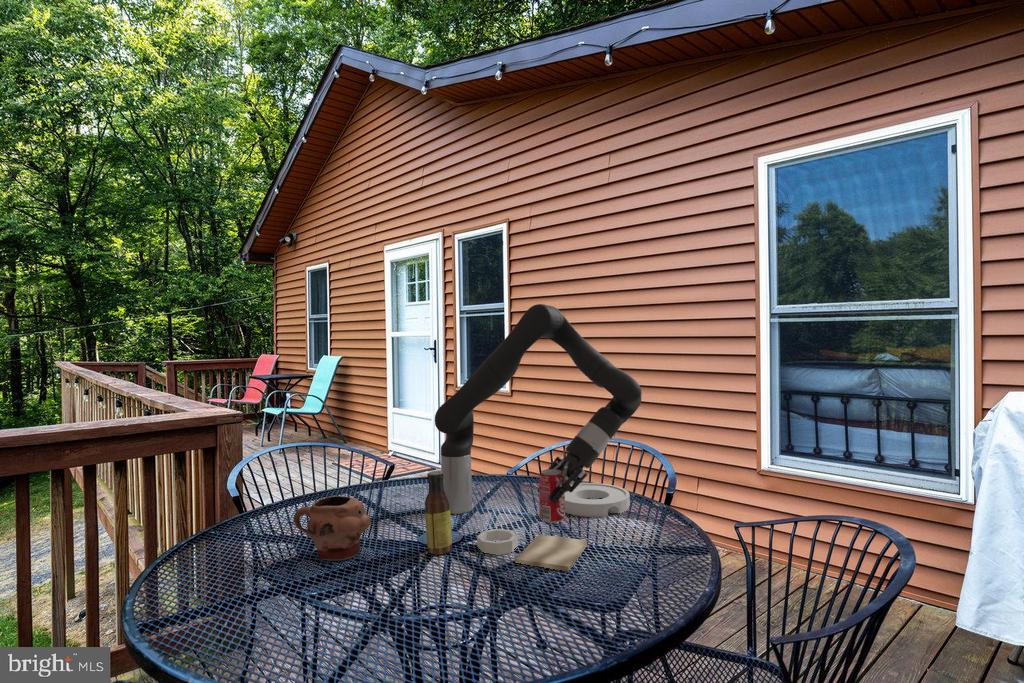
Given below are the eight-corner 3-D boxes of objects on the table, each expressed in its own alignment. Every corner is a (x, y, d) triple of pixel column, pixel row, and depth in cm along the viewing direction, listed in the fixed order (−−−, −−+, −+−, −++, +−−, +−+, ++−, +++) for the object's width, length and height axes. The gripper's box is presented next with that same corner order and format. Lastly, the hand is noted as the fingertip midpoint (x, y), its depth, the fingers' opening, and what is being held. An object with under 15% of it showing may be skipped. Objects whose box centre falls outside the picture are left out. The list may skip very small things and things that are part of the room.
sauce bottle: (456, 547, 147) (454, 470, 146) (445, 557, 141) (443, 476, 140) (433, 545, 149) (431, 468, 148) (421, 554, 143) (419, 474, 142)
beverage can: (565, 516, 144) (564, 468, 144) (565, 524, 138) (564, 474, 138) (540, 515, 145) (539, 468, 144) (539, 524, 139) (537, 474, 138)
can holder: (472, 552, 144) (472, 540, 144) (488, 538, 152) (488, 527, 152) (507, 557, 140) (507, 544, 140) (521, 543, 149) (521, 531, 149)
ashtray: (623, 521, 165) (622, 507, 165) (545, 513, 173) (545, 500, 173) (635, 498, 187) (634, 486, 187) (565, 492, 195) (565, 480, 195)
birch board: (515, 564, 136) (515, 559, 136) (539, 538, 152) (539, 534, 152) (568, 571, 131) (568, 566, 131) (587, 545, 147) (587, 540, 147)
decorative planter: (282, 565, 138) (280, 507, 137) (302, 546, 150) (301, 493, 150) (365, 565, 137) (363, 507, 137) (379, 545, 149) (377, 492, 149)
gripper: (565, 430, 150) (524, 481, 146) (591, 440, 137) (547, 496, 133) (584, 448, 152) (544, 499, 148) (612, 460, 138) (568, 515, 135)
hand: (545, 497), depth 141 cm, fingers closed on beverage can, 6 cm apart
